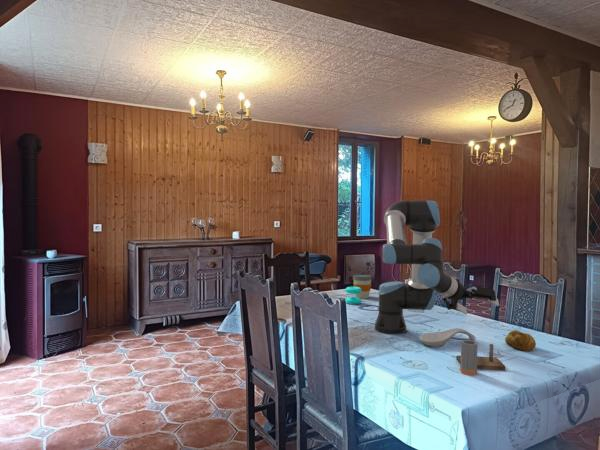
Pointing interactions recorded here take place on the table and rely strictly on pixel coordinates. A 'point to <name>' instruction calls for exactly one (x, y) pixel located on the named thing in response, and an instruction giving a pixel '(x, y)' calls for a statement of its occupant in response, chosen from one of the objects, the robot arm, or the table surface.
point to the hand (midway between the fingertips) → (481, 307)
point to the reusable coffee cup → (362, 285)
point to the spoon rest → (442, 337)
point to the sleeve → (468, 357)
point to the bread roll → (520, 341)
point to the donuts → (353, 291)
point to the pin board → (487, 361)
